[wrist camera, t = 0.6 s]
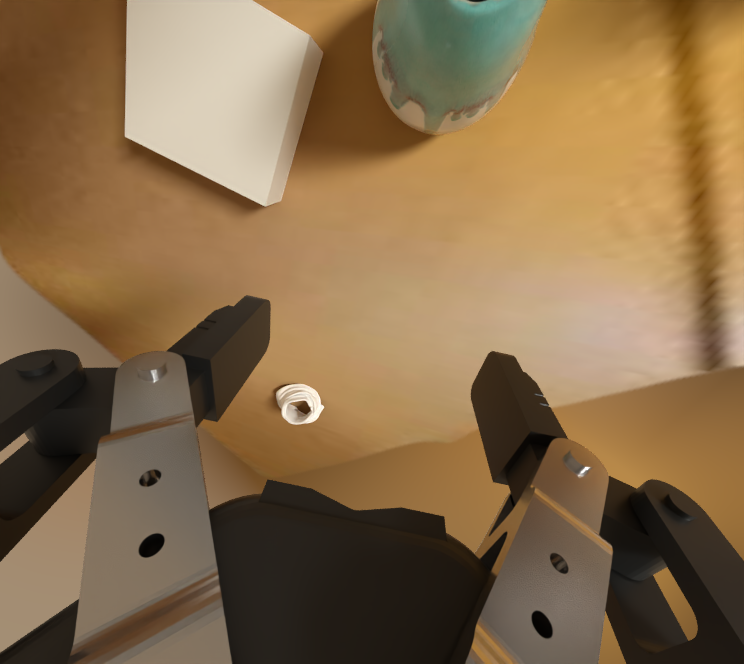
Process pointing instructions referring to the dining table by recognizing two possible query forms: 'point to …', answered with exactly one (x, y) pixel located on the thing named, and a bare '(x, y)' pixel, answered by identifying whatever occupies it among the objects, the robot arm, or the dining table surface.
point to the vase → (450, 57)
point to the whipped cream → (298, 394)
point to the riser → (219, 89)
